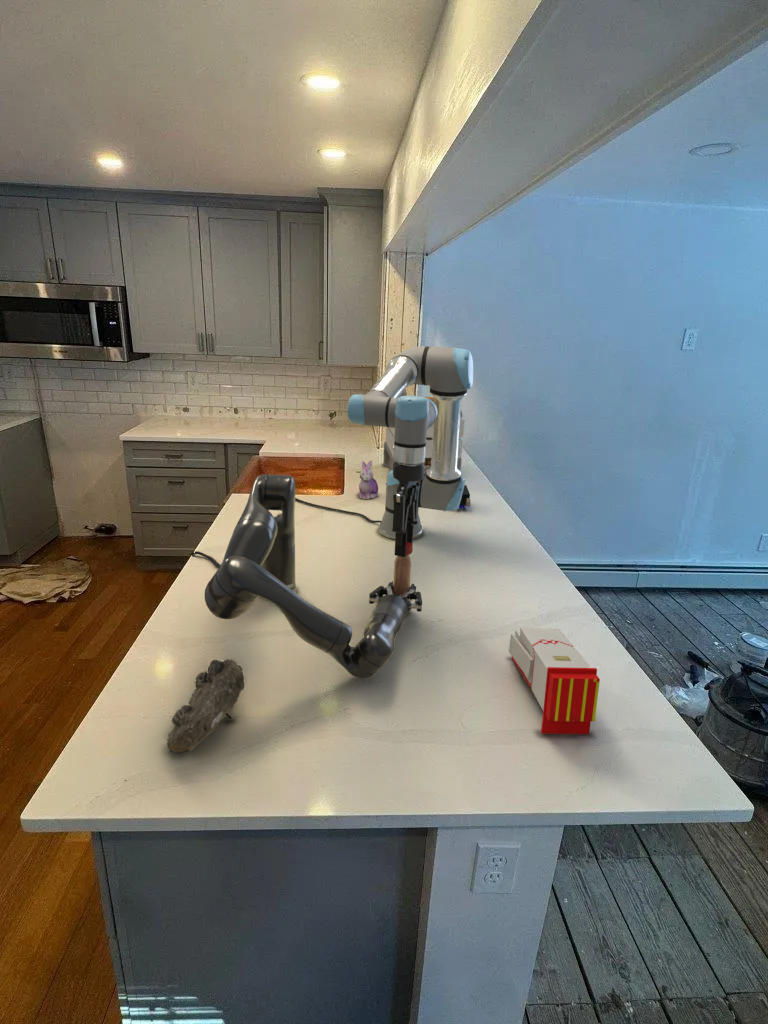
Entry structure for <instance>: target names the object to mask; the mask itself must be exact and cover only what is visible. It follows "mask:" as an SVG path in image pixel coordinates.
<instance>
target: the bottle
mask: <svg viewBox="0 0 768 1024" xmlns="http://www.w3.org/2000/svg"><path fill="white" fill-rule="evenodd" d="M412 565H413V563H412V559H411V554H410V555H406V556H405V557H401V556H396V555H395V559H394V561H393V573H392V574H393V575H392V576H393V577H392V581H393V591H392V593H395V594H401V595H402V594H403V593H404V592H406V591H407V592H408V591H409V589H410V587H411V584H412V583H411V581H412V580H411V579H412ZM409 612H410V611H408V613H407V615H408V614H409Z"/></svg>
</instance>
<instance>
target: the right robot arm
mask: <svg viewBox="0 0 768 1024" xmlns="http://www.w3.org/2000/svg"><path fill="white" fill-rule="evenodd" d="M473 360H474V359H473V355H472V352H470V350H469V349H466V348H459V347H449V346H448V347H447V346H426V345H419V346H413V347H411V348H407V349H405V350H403V351H400V352H399V353H398V354H396V355H395V356H393V357H392V358H391V359H390V361H389V362H388V363H387V365H386V370H385V372H384V373H383V374H382V375H381V376H380V378H379V379H378V380H377V381H376V382H375V383H374V384H373V385H372V386H371V388H370V389H369V390H368V391H367V392H366V394H363V393H360V394H357V393H356V394H352V395H351V396H350V397H349V399H348V403H347V417H348V421H349V422H350V423H352V424H353V425H354V424H355V425H360V426H370V427H380V428H381V427H383V428H386V427H390V428H395V440H394V447H393V448H392V450H394V461H395V462H394V463H393V470H391V471H390V470H389V472H388V473H387V475H386V482H385V504H384V505H385V507H384V508H385V509H384V513H383V515H382V519H381V520H372V519H370V518H369V517H367V515H364V514H363V513H359V512H355V511H349V510H345V509H344V510H343V509H340V508H339V509H338V508H334V507H328V506H325V505H320V504H316V503H312V502H308V501H304V500H301V499H300V498H296V497H295V501H297V502H299V503H302V504H306V505H308V506H312V507H316V508H319V509H320V508H321V509H325V510H330V511H335V512H340V513H346V514H351V515H357V516H360V517H362V518H364V519H365V520H366V521H368V522H370V523H377V524H378V523H379V525H378V533H379V534H380V535H381V536H382V537H385V538H387V539H389V540H394V556H395V557H396V556H401V557H405V556H406V545H407V542H410V543H412V544H414V543H413V542H414V540H415V539H418V538H420V537H421V536H422V535H423V525H422V524H421V518H420V515H419V508H422V509H428V510H436V511H443V512H456V511H458V510H457V509H459V505H460V501H461V498H462V494H463V490H464V485H466V479H465V478H464V477H462V471H461V472H460V471H459V470H458V469H457V458H458V444H459V429H460V415H461V412H462V401H463V400H462V399H463V398H464V397H466V396H467V394H468V390H469V389H470V390H471V389H472V388H473V384H474V361H473ZM413 385H418V386H419V385H420V386H428V387H429V394H430V395H431V397H434V402H433V401H431V400H430V399H428V398H425V397H426V396H422V395H421V396H420V395H407V396H401V394H402V393H403V391H404V390H406V389H407V388H409V387H411V386H413ZM400 396H401V397H400ZM432 425H433V435H432V456H431V465H430V466H429V468H427V470H426V471H425V466H424V464H423V463H424V462H425V452H426V435H427V429H428V428H429V427H431V426H432Z"/></svg>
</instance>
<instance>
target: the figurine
mask: <svg viewBox="0 0 768 1024" xmlns="http://www.w3.org/2000/svg"><path fill="white" fill-rule="evenodd" d="M372 466H373V460H369V461H368V463H367V464H366V462H365V461H364V460H362V461H361V471H360V472H359V478H360V482H359V484H358V490H359V492H358V497H359V499H363V500H369V499H374V498H377V497H378V493H379V485H378V481H377V480H376V478H374V473H373V471H372Z"/></svg>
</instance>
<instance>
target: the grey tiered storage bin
mask: <svg viewBox="0 0 768 1024" xmlns="http://www.w3.org/2000/svg"><path fill="white" fill-rule="evenodd" d="M407 394H408V393H407V390H406V389H405V390H404V391H403V393H402V394H401V396H408V395H407ZM401 396H400V397H401ZM424 397H425V398H428V399H430V400H431V401H433V402H434V397H433V396H424ZM464 429H465V419H464V418H463V411H461V415H460V429H459V444H458V458H457V469H458V470H459V471H460V472H461V473H462V461H463V460H462V453H463V442H464V441H463V440H462V439H463V438H464V431H465V430H464ZM432 435H433V425H432V426H431V427H429V428H428V429H427V435H426V452H425V462H424V463H423V464H424V467H431V456H432ZM394 440H395V428H390V427H385V438H384V442H383V466H384V467H388V468H389V472H390V471H391V470H393V463H394V462H395V461H394V450H392V448H393V447H394Z"/></svg>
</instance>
